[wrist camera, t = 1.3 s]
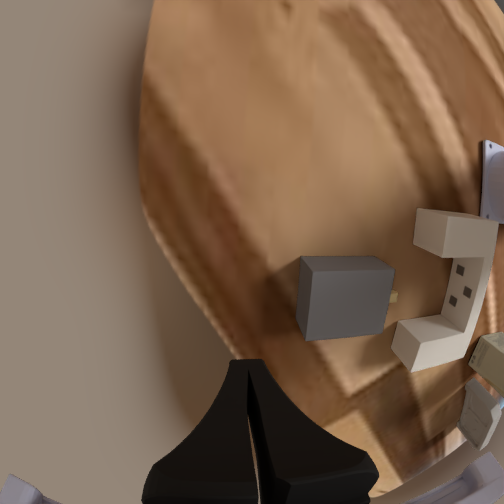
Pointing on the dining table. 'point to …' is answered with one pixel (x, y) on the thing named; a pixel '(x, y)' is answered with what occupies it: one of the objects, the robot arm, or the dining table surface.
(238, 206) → the dining table surface
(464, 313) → the socket block
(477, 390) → the light switch
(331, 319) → the plug
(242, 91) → the dining table surface
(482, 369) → the skincare box
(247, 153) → the dining table surface
